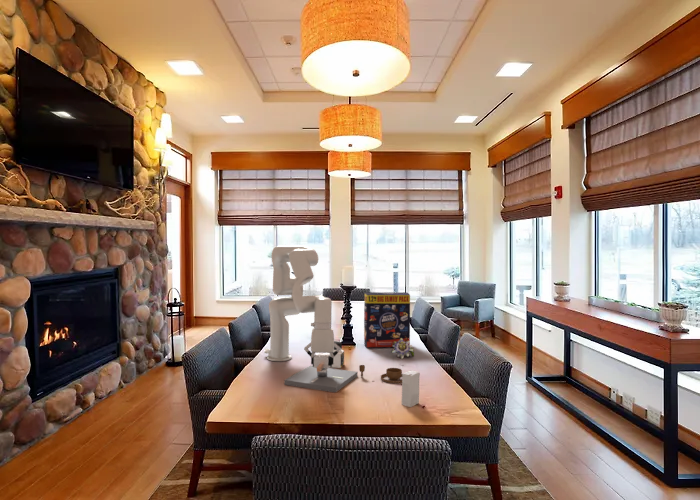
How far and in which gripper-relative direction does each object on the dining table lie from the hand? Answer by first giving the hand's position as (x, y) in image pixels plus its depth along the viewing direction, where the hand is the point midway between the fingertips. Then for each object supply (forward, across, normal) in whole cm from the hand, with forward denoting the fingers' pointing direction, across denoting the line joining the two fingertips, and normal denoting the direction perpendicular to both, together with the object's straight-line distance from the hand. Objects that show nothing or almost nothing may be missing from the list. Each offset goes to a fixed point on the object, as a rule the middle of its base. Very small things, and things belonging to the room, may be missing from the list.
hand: (322, 365), depth 194 cm
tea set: (+7, +29, +4) cm, 30 cm away
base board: (+6, 0, 0) cm, 6 cm away
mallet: (0, 0, -2) cm, 2 cm away
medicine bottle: (+7, +6, +23) cm, 24 cm away
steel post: (+4, 0, 0) cm, 4 cm away
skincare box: (+7, +34, -29) cm, 45 cm away
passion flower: (+7, +42, +41) cm, 59 cm away
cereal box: (+7, +36, +65) cm, 75 cm away
